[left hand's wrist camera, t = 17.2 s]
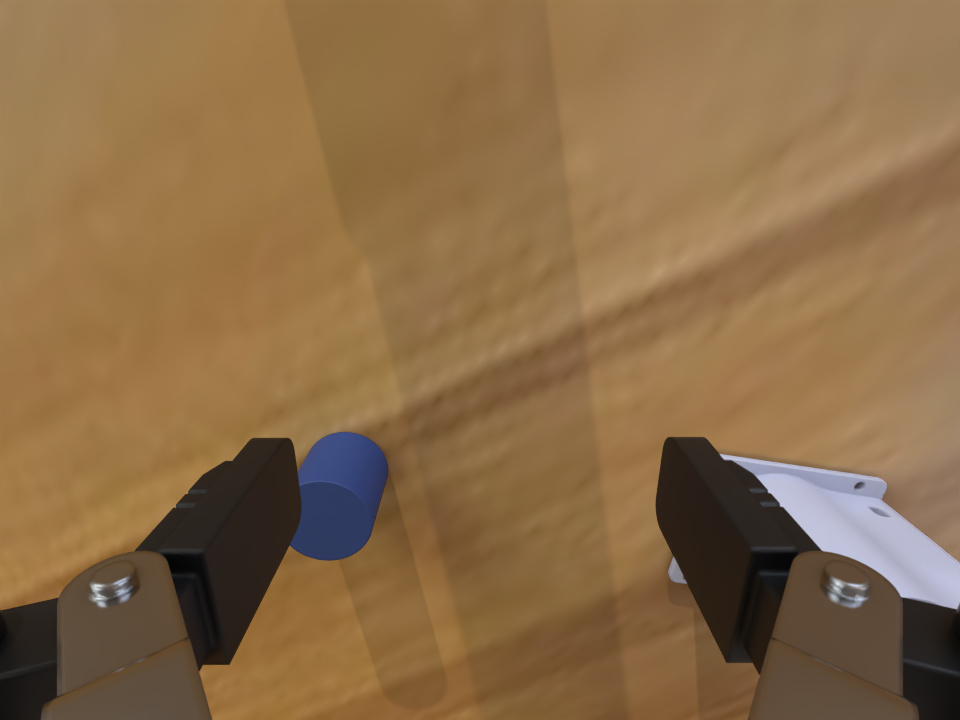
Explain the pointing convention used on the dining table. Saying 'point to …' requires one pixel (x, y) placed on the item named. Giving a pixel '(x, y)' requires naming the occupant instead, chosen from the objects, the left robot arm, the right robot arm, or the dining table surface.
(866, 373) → the dining table surface
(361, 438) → the canister
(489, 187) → the dining table surface
